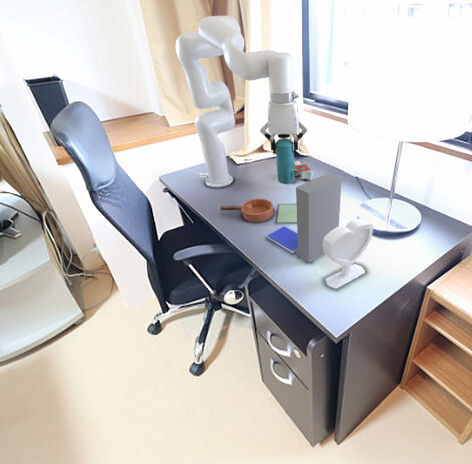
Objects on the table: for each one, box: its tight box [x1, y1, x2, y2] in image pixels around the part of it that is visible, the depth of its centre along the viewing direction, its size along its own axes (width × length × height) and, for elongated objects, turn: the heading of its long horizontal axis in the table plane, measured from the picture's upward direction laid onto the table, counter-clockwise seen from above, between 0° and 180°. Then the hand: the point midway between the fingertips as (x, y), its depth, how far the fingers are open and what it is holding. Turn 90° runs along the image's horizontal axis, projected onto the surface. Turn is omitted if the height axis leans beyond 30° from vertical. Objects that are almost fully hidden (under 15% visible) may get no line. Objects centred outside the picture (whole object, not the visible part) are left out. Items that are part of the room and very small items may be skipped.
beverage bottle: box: [275, 134, 296, 185], centre depth 112 cm, size 6×7×20 cm
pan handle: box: [220, 205, 242, 211], centre depth 125 cm, size 8×2×1 cm, turn 89°
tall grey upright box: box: [295, 172, 342, 263], centre depth 99 cm, size 14×6×25 cm, turn 133°
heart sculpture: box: [323, 218, 374, 289], centre depth 91 cm, size 16×5×18 cm, turn 125°
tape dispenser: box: [294, 160, 315, 181], centre depth 153 cm, size 18×5×20 cm
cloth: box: [276, 204, 297, 224], centre depth 126 cm, size 10×13×1 cm
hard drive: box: [267, 226, 298, 254], centre depth 111 cm, size 2×8×12 cm
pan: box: [240, 198, 274, 223], centre depth 125 cm, size 12×12×4 cm
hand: (284, 151), depth 111 cm, fingers closed on beverage bottle, 6 cm apart
